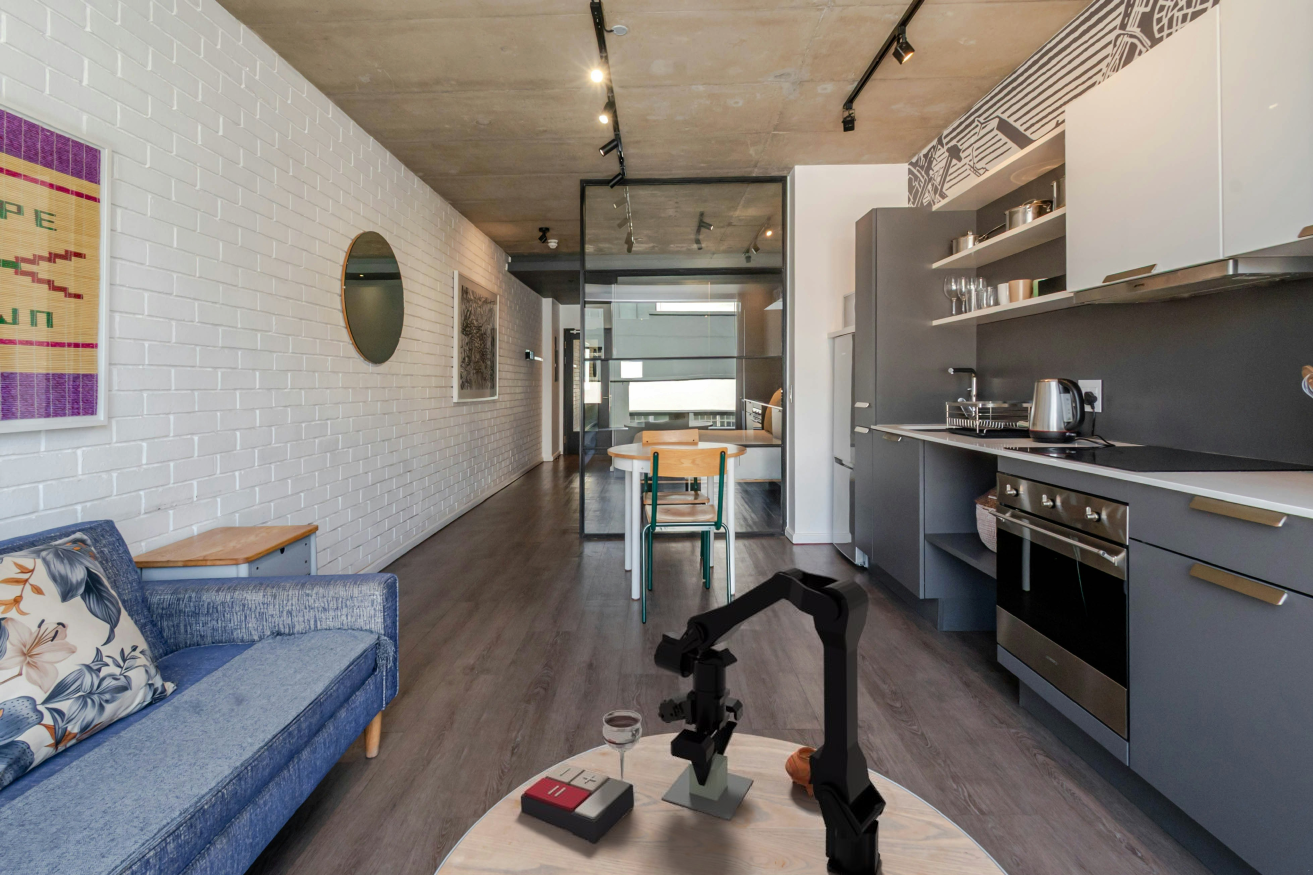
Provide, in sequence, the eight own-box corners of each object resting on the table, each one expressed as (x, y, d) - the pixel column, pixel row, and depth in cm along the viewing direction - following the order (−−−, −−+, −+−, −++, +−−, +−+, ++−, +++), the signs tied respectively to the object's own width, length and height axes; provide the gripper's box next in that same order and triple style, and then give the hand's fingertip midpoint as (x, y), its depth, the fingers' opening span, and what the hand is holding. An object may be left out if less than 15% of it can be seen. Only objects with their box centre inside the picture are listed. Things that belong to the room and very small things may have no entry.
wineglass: (641, 800, 102) (641, 728, 101) (600, 799, 102) (600, 728, 101) (642, 776, 108) (642, 709, 108) (604, 776, 108) (604, 709, 108)
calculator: (562, 758, 108) (634, 779, 100) (563, 783, 108) (635, 805, 100) (519, 791, 99) (594, 816, 91) (520, 817, 99) (595, 845, 91)
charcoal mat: (753, 780, 107) (753, 779, 107) (729, 820, 96) (729, 819, 96) (690, 763, 113) (690, 762, 113) (661, 799, 102) (661, 797, 102)
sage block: (727, 784, 106) (727, 756, 105) (716, 800, 101) (717, 770, 101) (700, 777, 108) (700, 749, 108) (689, 792, 103) (689, 763, 103)
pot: (840, 799, 101) (831, 760, 101) (794, 807, 102) (784, 769, 102) (831, 770, 109) (823, 734, 109) (788, 778, 110) (779, 742, 110)
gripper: (688, 657, 116) (687, 739, 116) (641, 697, 99) (641, 791, 100) (744, 668, 111) (743, 753, 111) (705, 711, 94) (704, 811, 95)
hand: (708, 775), depth 104 cm, fingers open, 6 cm apart
